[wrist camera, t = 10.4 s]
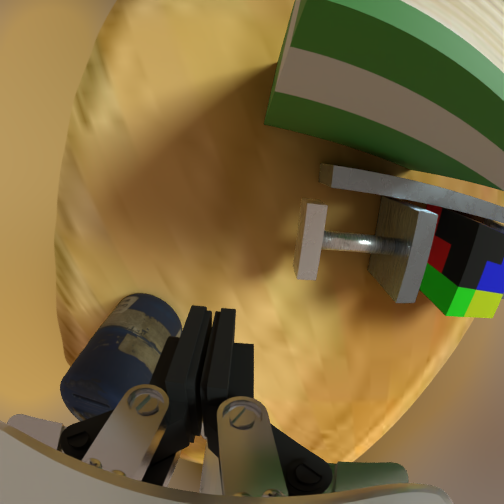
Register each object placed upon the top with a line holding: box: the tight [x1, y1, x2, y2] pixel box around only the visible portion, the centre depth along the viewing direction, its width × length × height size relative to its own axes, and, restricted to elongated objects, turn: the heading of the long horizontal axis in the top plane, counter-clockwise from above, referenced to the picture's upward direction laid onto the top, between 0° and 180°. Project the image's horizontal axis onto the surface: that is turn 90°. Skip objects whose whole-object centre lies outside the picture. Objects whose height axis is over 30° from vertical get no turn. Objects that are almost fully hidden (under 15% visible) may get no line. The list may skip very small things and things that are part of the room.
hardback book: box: [264, 0, 504, 191], centre depth 14 cm, size 18×7×24 cm, turn 78°
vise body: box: [319, 163, 504, 299], centre depth 26 cm, size 12×30×8 cm, turn 86°
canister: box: [60, 293, 182, 421], centre depth 25 cm, size 10×10×18 cm
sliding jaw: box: [293, 196, 438, 303], centre depth 26 cm, size 9×12×8 cm
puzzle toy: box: [419, 204, 504, 318], centre depth 25 cm, size 10×10×10 cm
